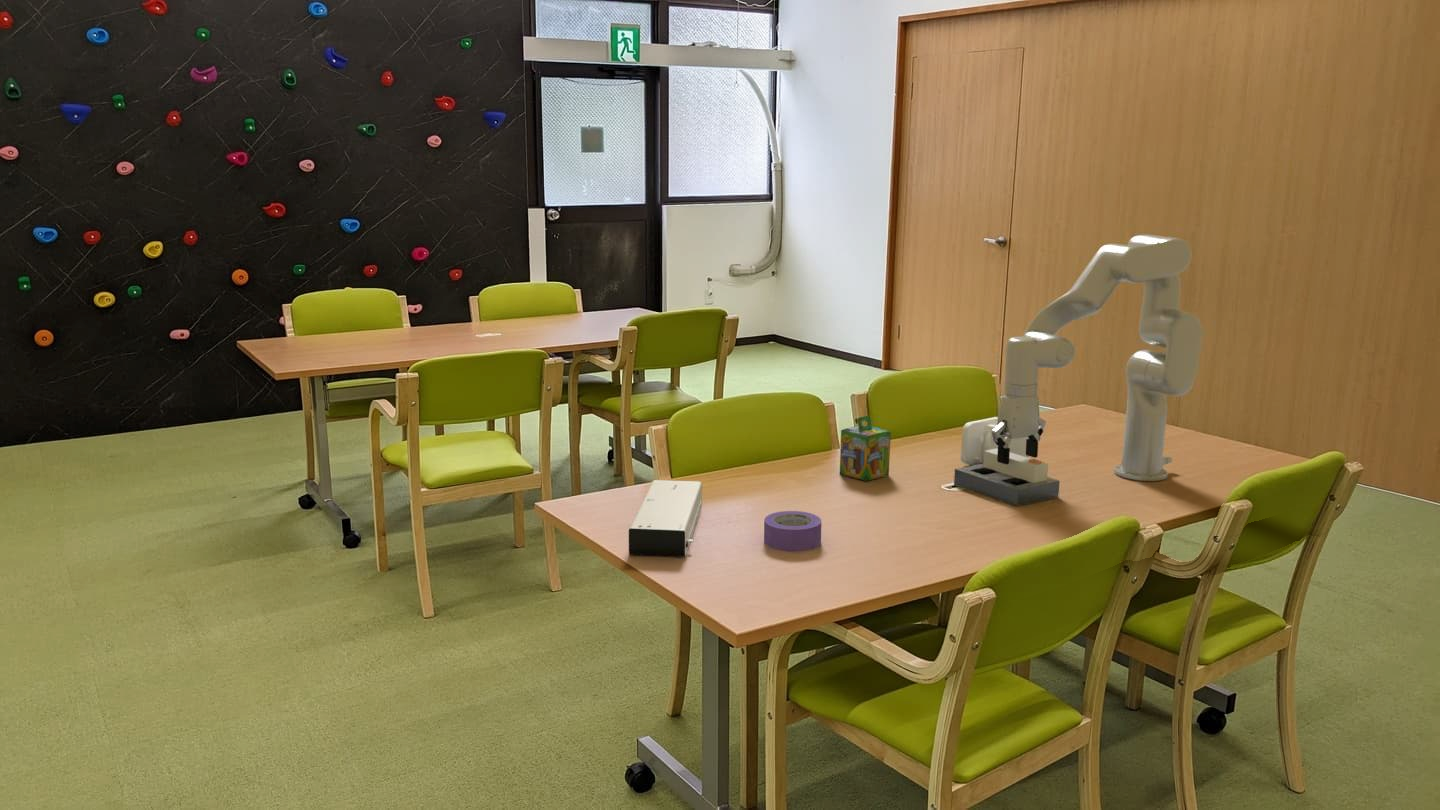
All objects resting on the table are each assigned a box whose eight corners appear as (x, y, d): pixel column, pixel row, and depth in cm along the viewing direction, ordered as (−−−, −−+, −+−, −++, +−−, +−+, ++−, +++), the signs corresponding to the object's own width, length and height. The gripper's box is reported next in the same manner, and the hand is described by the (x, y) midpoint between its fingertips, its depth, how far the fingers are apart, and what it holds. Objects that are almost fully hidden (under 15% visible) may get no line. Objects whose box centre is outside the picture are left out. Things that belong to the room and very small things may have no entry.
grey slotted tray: (994, 476, 285) (995, 461, 284) (1058, 497, 269) (1059, 480, 268) (953, 484, 278) (954, 469, 277) (1016, 506, 261) (1018, 490, 260)
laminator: (652, 505, 260) (652, 479, 259) (706, 507, 259) (707, 481, 258) (628, 558, 227) (628, 528, 226) (690, 560, 226) (690, 530, 225)
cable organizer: (990, 475, 286) (993, 430, 284) (958, 466, 294) (960, 422, 292) (1028, 466, 295) (1032, 422, 292) (996, 457, 303) (999, 414, 301)
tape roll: (779, 555, 229) (779, 531, 228) (754, 537, 239) (754, 514, 238) (831, 548, 234) (832, 524, 233) (804, 530, 244) (805, 508, 243)
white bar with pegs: (994, 477, 282) (997, 446, 280) (1045, 494, 269) (1048, 461, 267) (982, 480, 280) (984, 448, 278) (1032, 496, 267) (1035, 463, 265)
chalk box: (866, 482, 279) (869, 423, 276) (838, 474, 285) (840, 416, 282) (890, 475, 285) (893, 417, 282) (862, 467, 292) (864, 411, 288)
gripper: (1033, 382, 277) (1030, 450, 281) (982, 391, 268) (979, 462, 272) (1058, 387, 271) (1054, 457, 275) (1007, 397, 262) (1003, 469, 266)
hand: (1017, 459), depth 273 cm, fingers open, 9 cm apart
